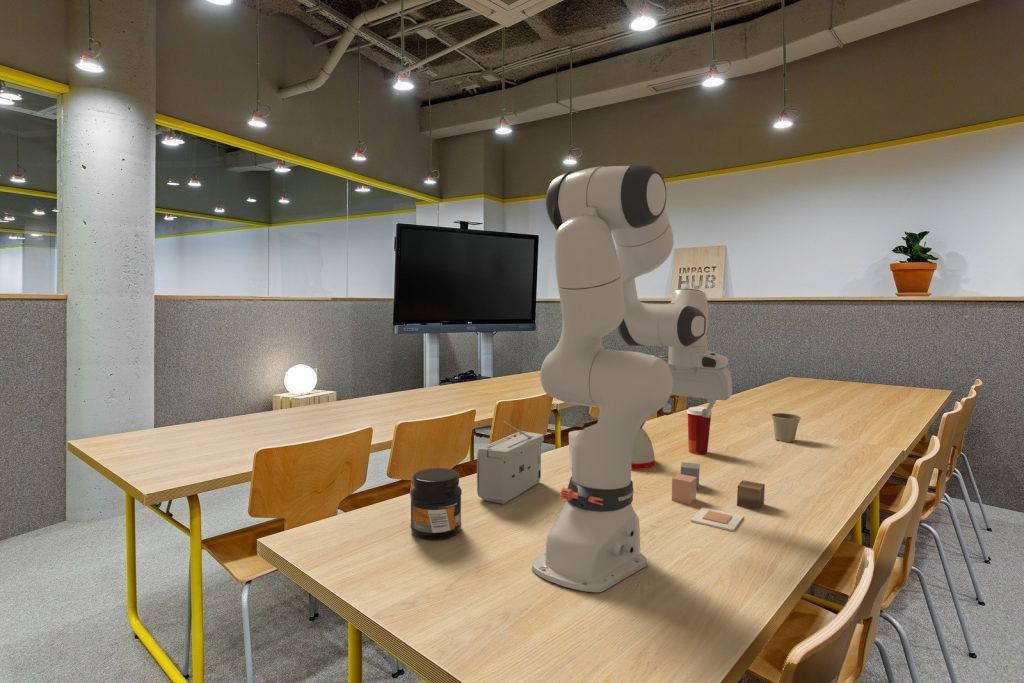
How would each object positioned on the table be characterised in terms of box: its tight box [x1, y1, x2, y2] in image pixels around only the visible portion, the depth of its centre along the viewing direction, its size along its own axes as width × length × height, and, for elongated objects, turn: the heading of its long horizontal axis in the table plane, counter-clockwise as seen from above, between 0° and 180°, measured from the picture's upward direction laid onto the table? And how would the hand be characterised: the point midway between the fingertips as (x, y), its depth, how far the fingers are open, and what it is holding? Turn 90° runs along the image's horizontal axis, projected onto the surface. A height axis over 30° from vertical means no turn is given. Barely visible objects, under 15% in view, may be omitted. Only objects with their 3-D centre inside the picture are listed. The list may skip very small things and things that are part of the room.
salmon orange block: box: [671, 473, 697, 505], centre depth 136 cm, size 4×4×6 cm
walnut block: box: [736, 479, 766, 512], centre depth 132 cm, size 5×5×5 cm
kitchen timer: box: [631, 421, 656, 470], centre depth 166 cm, size 14×14×15 cm
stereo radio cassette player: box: [476, 420, 545, 505], centre depth 140 cm, size 21×8×20 cm, turn 150°
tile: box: [689, 506, 744, 532], centre depth 123 cm, size 9×9×1 cm
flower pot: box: [770, 412, 802, 443], centre depth 194 cm, size 9×9×9 cm
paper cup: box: [686, 406, 713, 455], centre depth 178 cm, size 8×8×14 cm
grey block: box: [680, 461, 701, 491], centre depth 146 cm, size 4×4×6 cm
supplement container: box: [409, 467, 463, 541], centre depth 116 cm, size 10×10×12 cm
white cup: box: [568, 429, 583, 470], centre depth 160 cm, size 8×8×10 cm
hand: (686, 414), depth 134 cm, fingers open, 8 cm apart
